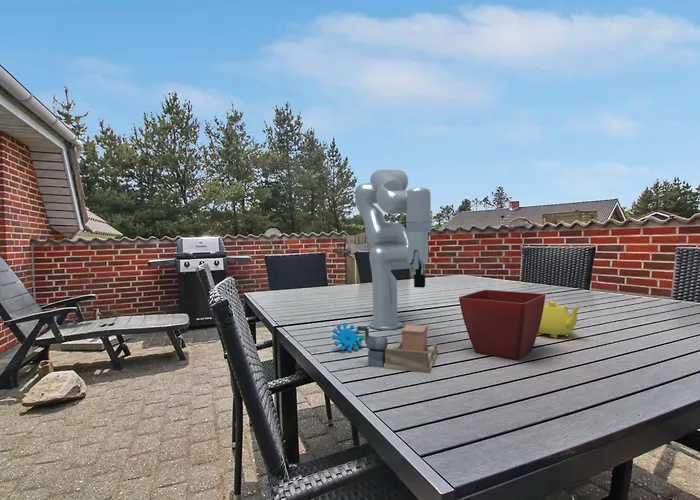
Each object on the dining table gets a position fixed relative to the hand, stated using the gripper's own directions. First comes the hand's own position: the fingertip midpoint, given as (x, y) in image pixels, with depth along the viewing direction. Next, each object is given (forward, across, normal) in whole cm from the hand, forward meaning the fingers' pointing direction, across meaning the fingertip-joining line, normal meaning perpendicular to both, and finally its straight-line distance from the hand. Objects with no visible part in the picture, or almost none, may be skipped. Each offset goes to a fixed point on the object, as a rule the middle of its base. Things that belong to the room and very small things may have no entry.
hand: (419, 286), depth 118 cm
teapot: (+19, -28, +41) cm, 53 cm away
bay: (+19, +13, -4) cm, 23 cm away
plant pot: (+19, -3, +24) cm, 31 cm away
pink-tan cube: (+18, +9, 0) cm, 20 cm away
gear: (+19, +8, -21) cm, 30 cm away
